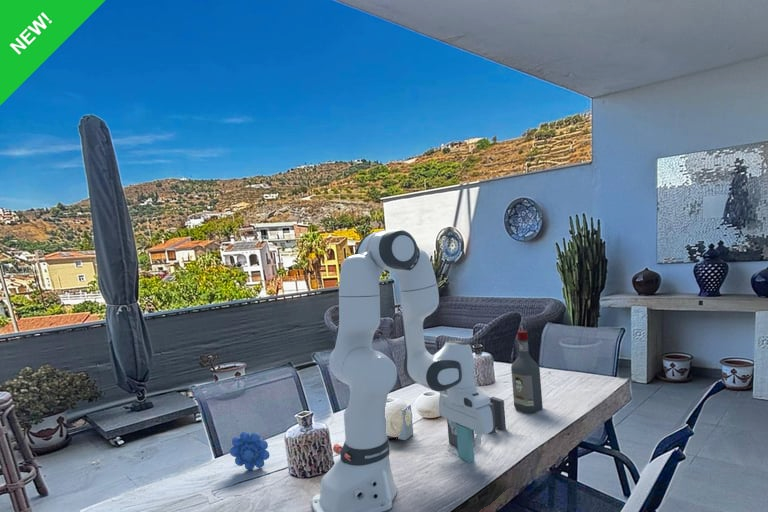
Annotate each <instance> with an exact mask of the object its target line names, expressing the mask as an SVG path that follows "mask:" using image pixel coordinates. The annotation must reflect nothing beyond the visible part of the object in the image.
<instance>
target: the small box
mask: <svg viewBox="0 0 768 512" xmlns="http://www.w3.org/2000/svg"><path fill="white" fill-rule="evenodd" d="M406 404H407V403H406ZM407 408H408V410H409V409H410V411H411V415H412V404H407V407H406V408H404V409H402V410H401V411H402V415H403V424H402V431H401V434H400V435H399V436H398V440H403V441H407V440H408V439H409V438H410V437H411V436H412V435H414V426H413V425H414V424H413V419H412V420H411V424H410V426H409V427H408V426H407V425H406V421H405V415H406V410H407Z"/></svg>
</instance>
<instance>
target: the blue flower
mask: <svg viewBox="0 0 768 512" xmlns="http://www.w3.org/2000/svg"><path fill="white" fill-rule="evenodd" d="M231 444H232V447H231V448H230V450H229V452H230V456H231V457H233V458H235V459H234V463H235V465H236V466H239V467H243V466H244V468H245V469H246V470H248V471H252V470H253V469H255V468H259V469H261V468H263V467H264V466H265V460H269V458H270V452H269V451H268V450H267V449H268V447H269V444H268V441H266V440H264V439H261V436H260V434H259V433H257V432H253V433H251V434H250V433H249V432H248V431H242V432H241V433H240V434H239V437H238V436H236V437H233V438H232V440H231Z"/></svg>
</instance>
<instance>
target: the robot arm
mask: <svg viewBox="0 0 768 512" xmlns="http://www.w3.org/2000/svg"><path fill="white" fill-rule="evenodd" d="M390 270H391V271H393V272H394V274H395V276H396V278H397V281H398V288H399V294H400V299H401V323H402V333H403V340H404V354H405V355H404V359H403V360H404V361H403V373H404V376H405V377H406V378H407V379H408V381H410V382H412V383H414V384H418V385H421V386H423V387H425V388H427V389H428V390H431V391H434V392H437V393H439V396H438V397H439V398H438V412H439V415H440V416H441V417H442V418H445V419H446V420H447V419H448V422H449V424H450V427H451V428H452V433H453V434H455V435H457V430H456V423H458V424H460V425H462V426H465V427H467V428H469V429H472V430H474V435H475V436H474V438H473V441H474V442H473V445H476V446H480V445H481V444H482V438H483V435H487V434H490V432H491V431H492V430H493V418H492V411H491V408H490V406H489V405H488V404H489V403H490V397H491V396H489V395H488V394H487V393H486V392H484V391H483V390H482V389H481V388H479V387H478V386H477V383H476V378H475V360H474V355H473V350H472V347H471V345H470V344H469V343H468V342H465V341H463V340H457V339H456V340H454V339H451V340H450V339H449V340H447V341H445V343H444V345H443V346H442V347H441V349H439V350H438V351H437V352H436V353H434V354H431V353H430V352H429V351H428V350H427V348H426V343H425V337H424V336H425V335H424V334H425V333H424V322H425V319H426V318H427V317H429V316H430V315H432V314H433V313H434V312H435V311H436V310H437V308H438V306H439V303H440V294H439V288H438V283H437V277H436V274H435V271H434V267H433V265H432V261H431V259H430V257H429V254H428V253H427V252H426V251H424V250H423V249H420V248H419V246H418V244H417V242H416V240H415V238H414V237H413V236H412V234H410V233H409V232H408V231H406V230H403V229H398V228H395V229H388V230H385V229H384V230H378V231H375V232H372V233H368V234H366V235H365V236H364V237H362V239H361V240H360V241H359V243H358V245H357V247H356V250H355V252H354V254H352V255H350V256H348V257H346V258H345V259H343V261H342V263H341V267H340V273H339V274H340V275H339V281H338V317H339V318H338V331H337V337H336V340H335V347H334V349H333V350H332V351H331V353H330V355H329V360H328V366H329V369H330V372H331V373H332V375H334V377H335V378H336V379H337V380H338V381H340V382H341V383H343V384H345V385H347V386H348V387H349V391H350V393H349V401H348V406H347V407H346V408H345V410H344V412H343V422H344V436H345V440H344V443H343V446H341V445H340V444H338V443H335V444H334V445H333V446H332V451H333V452H334V453H335V454H336V455H340V456H339V457H340V458H338V460H337V461H336V462H335V463H334V465H332V466H331V468H330V469H328V471H327V472H326V473H325V474H324V475H323V476H322V479H321V481H320V488H319V489H320V490H319V493H317V494H316V495H315V494H314V496H313V497H312V500H311V507H312V511H313V512H386V511H389V510H390V509H392V508H393V500H394V499H395V497H396V495H397V492H398V489H397V485H396V483H395V479H394V477H393V473H392V469H391V463H390V440H389V437H387V434H386V418H385V407H386V406H387V400H388V395H389V393H390V392H391V391H392V390H393V388H394V387H395V385H396V382H397V379H398V369H397V366H396V364H395V362H394V361H393V360H392V359H391V358H389V356H387V355H386V354H384V353H383V352H381V351H379V350H375V349H373V347H372V346H373V339H374V336H375V333H376V331H377V330H378V328H379V327H380V325H381V295H380V291H381V290H380V280H381V279H380V278H381V275H382V273H383V272H384V271H390Z"/></svg>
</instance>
